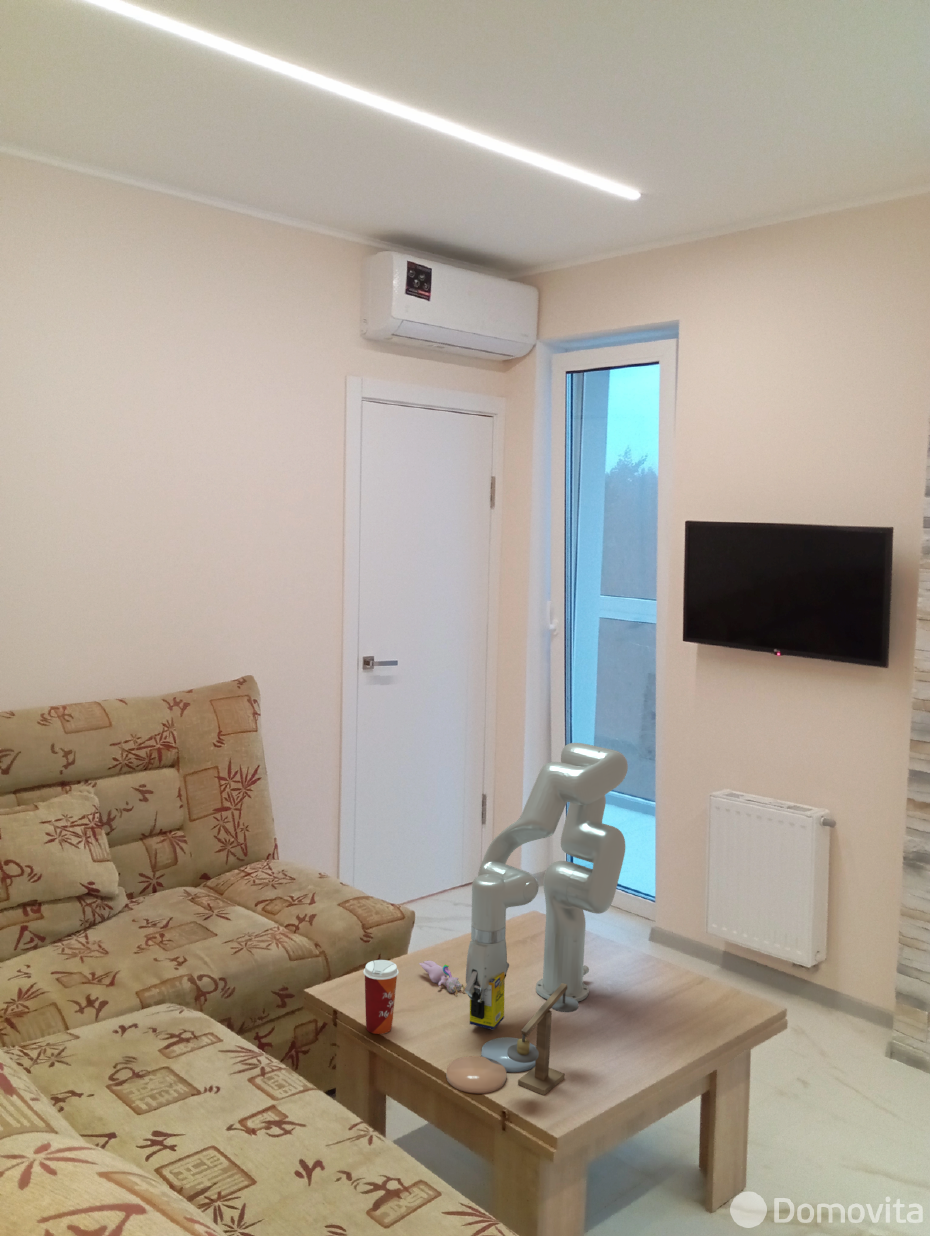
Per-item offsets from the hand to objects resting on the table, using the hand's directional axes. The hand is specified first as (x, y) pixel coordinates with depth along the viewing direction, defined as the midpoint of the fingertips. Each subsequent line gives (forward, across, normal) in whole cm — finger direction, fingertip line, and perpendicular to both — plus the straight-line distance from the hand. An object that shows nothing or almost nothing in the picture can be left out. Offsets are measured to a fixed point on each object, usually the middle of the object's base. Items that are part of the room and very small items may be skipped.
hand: (486, 1009), depth 221 cm
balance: (+4, +11, +21) cm, 24 cm away
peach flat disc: (+4, +18, +10) cm, 21 cm away
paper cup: (+4, +15, -18) cm, 24 cm away
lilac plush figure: (+5, -11, -21) cm, 24 cm away
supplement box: (+3, 0, 0) cm, 3 cm away
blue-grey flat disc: (+4, +7, +11) cm, 14 cm away
